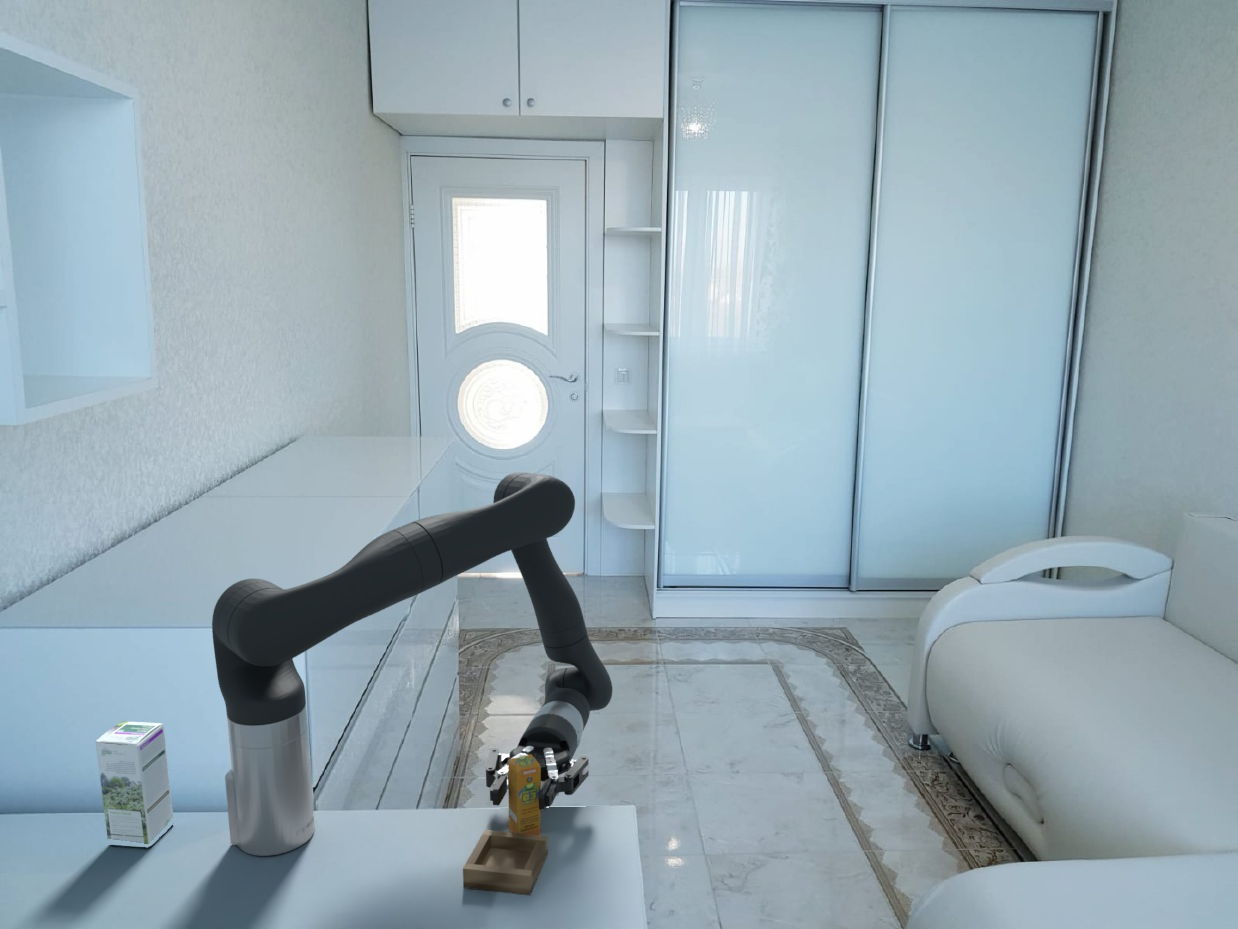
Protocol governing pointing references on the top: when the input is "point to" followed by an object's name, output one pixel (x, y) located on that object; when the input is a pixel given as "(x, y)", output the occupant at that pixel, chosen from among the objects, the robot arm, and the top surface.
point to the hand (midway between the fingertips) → (518, 800)
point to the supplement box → (524, 795)
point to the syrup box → (134, 781)
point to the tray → (506, 862)
